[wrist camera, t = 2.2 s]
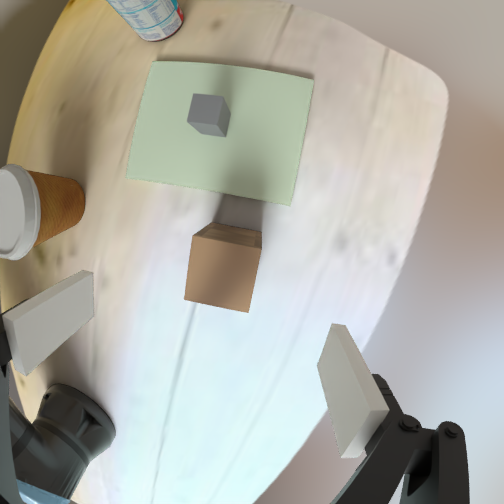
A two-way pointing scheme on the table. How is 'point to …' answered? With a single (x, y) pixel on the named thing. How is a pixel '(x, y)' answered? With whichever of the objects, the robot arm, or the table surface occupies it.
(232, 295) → the box
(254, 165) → the post board
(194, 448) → the table surface
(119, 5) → the teal and black cylinder
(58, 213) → the disposable coffee cup
